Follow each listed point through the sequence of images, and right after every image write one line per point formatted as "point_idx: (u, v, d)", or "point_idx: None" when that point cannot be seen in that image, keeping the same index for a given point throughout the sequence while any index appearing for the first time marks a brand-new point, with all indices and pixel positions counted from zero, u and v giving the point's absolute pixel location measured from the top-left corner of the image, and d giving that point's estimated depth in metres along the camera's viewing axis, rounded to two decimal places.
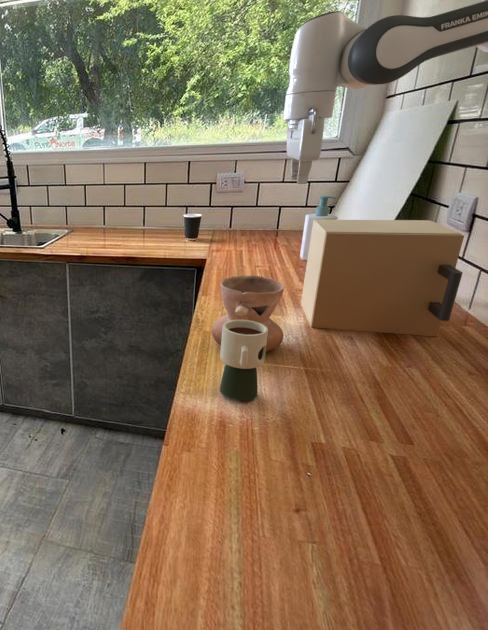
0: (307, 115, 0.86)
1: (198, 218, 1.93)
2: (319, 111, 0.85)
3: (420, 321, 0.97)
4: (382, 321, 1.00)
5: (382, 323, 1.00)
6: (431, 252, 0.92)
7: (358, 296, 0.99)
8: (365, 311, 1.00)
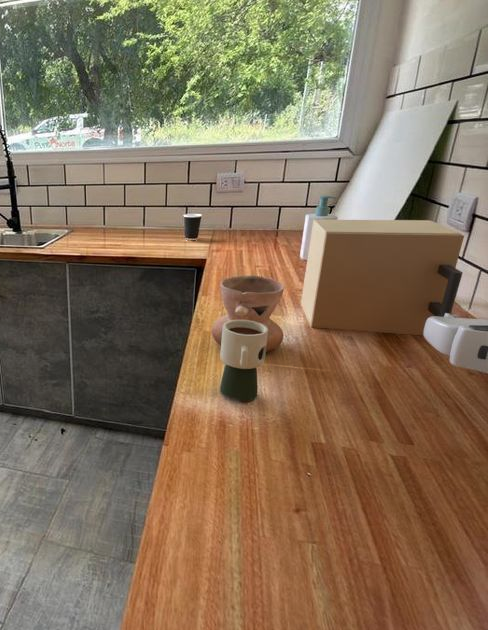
0: None
1: (198, 218, 1.93)
2: None
3: (420, 321, 0.97)
4: (382, 321, 1.00)
5: (382, 323, 1.00)
6: (431, 252, 0.92)
7: (358, 296, 0.99)
8: (365, 311, 1.00)
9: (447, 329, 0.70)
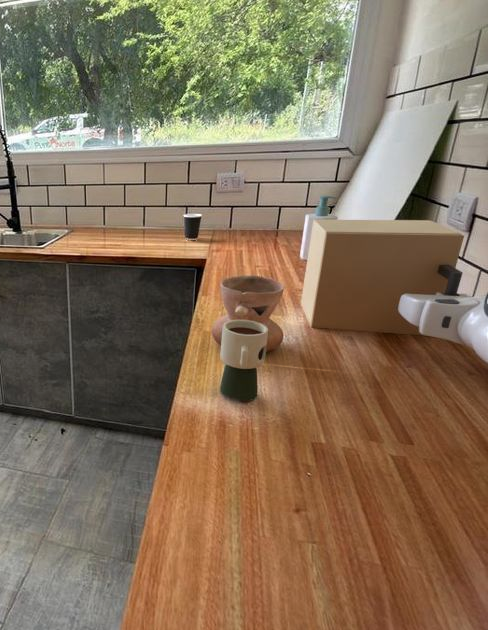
0: None
1: (198, 218, 1.93)
2: None
3: None
4: (382, 321, 1.00)
5: (382, 323, 1.00)
6: (431, 252, 0.92)
7: (358, 296, 0.99)
8: (365, 311, 1.00)
9: (417, 303, 0.82)
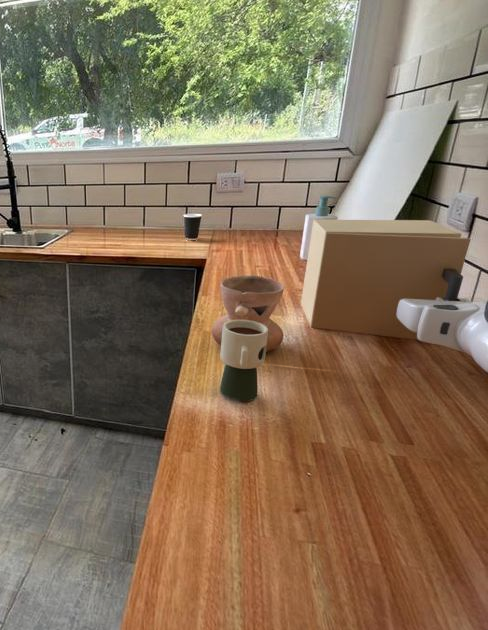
0: None
1: (198, 218, 1.93)
2: None
3: None
4: (384, 324, 0.98)
5: (384, 326, 0.98)
6: (435, 255, 0.90)
7: (359, 297, 0.98)
8: (366, 313, 0.99)
9: (415, 309, 0.80)
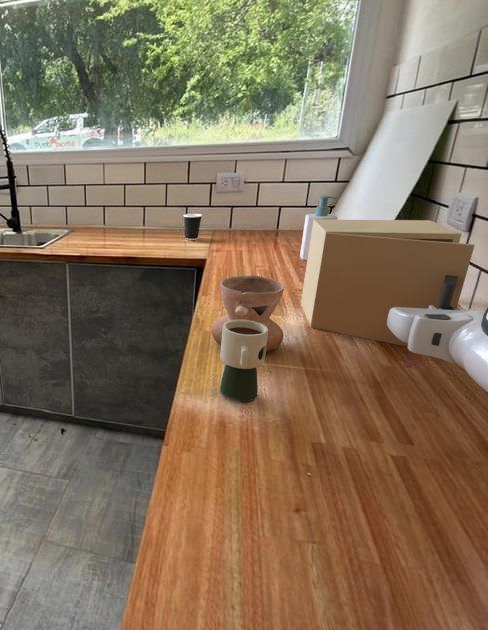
0: None
1: (198, 218, 1.93)
2: None
3: None
4: (383, 330, 0.95)
5: (383, 332, 0.95)
6: (436, 261, 0.86)
7: (358, 300, 0.97)
8: (365, 317, 0.97)
9: (405, 318, 0.76)
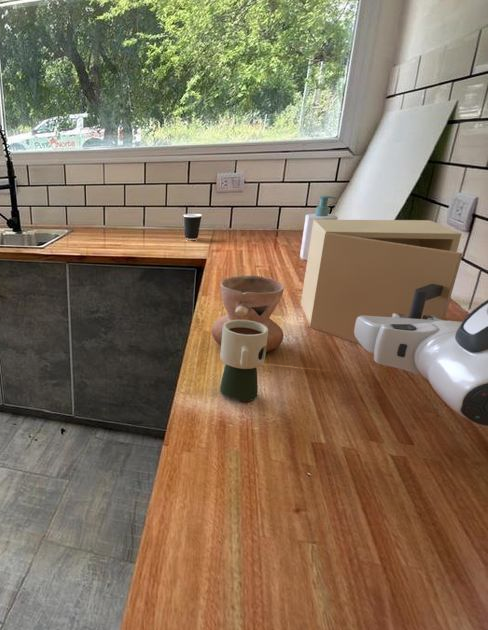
0: None
1: (198, 218, 1.93)
2: None
3: None
4: None
5: None
6: (423, 268, 0.82)
7: (351, 303, 0.95)
8: None
9: (371, 328, 0.73)
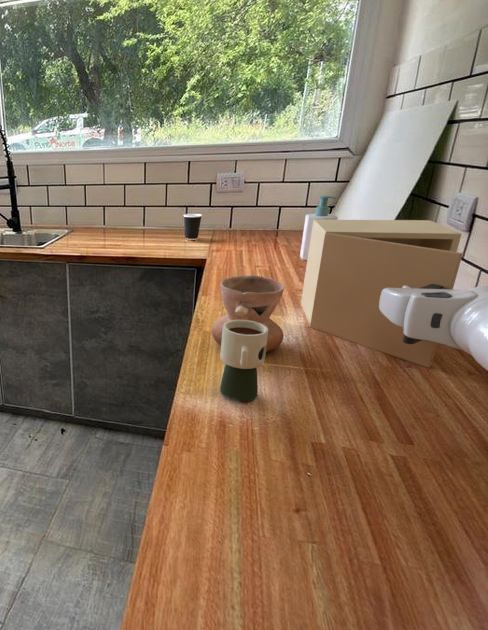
0: None
1: (198, 218, 1.93)
2: None
3: (411, 345, 0.87)
4: (373, 336, 0.93)
5: (373, 338, 0.93)
6: (423, 268, 0.82)
7: (351, 303, 0.95)
8: (357, 321, 0.95)
9: (400, 298, 0.66)
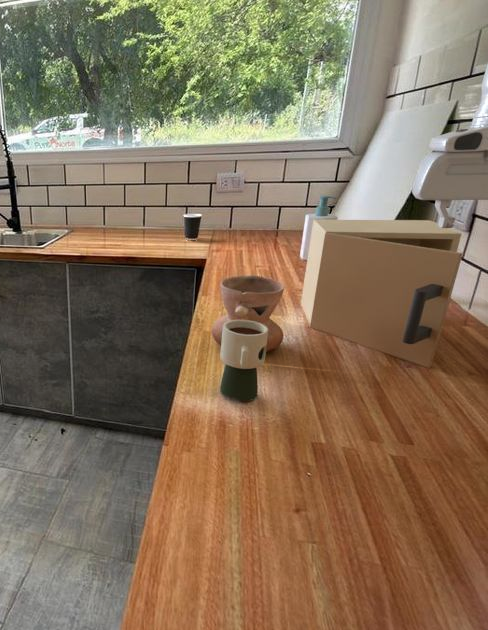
0: None
1: (198, 218, 1.93)
2: None
3: (411, 345, 0.87)
4: (373, 336, 0.93)
5: (373, 338, 0.93)
6: (423, 268, 0.82)
7: (351, 303, 0.95)
8: (357, 321, 0.95)
9: (424, 158, 0.73)
